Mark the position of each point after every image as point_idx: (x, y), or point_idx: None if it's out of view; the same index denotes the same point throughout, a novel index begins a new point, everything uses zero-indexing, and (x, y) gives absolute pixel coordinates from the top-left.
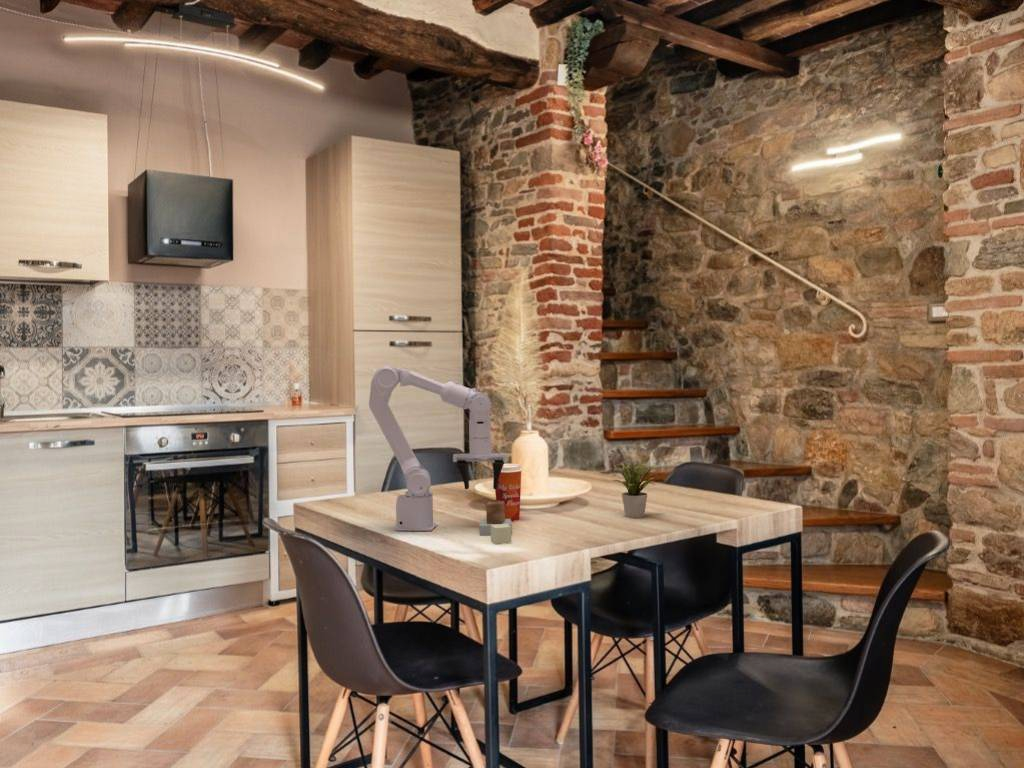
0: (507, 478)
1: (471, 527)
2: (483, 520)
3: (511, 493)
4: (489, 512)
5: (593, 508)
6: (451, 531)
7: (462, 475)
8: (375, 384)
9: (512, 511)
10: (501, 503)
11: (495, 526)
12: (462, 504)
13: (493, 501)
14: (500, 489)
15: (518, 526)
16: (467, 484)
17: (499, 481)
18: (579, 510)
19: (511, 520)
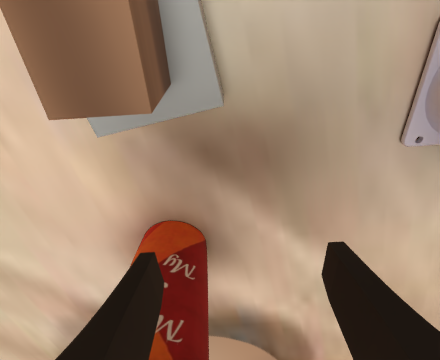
0: None
1: (264, 123)
2: (202, 87)
3: None
4: None
5: (30, 341)
6: (340, 32)
7: (427, 329)
8: None
9: (145, 245)
10: (14, 28)
11: None
12: (327, 351)
13: (119, 112)
14: (170, 316)
15: (101, 158)
16: (339, 271)
17: (168, 357)
18: (47, 327)
19: (156, 224)
